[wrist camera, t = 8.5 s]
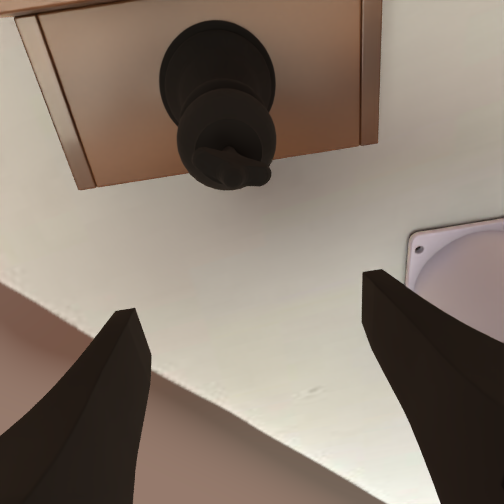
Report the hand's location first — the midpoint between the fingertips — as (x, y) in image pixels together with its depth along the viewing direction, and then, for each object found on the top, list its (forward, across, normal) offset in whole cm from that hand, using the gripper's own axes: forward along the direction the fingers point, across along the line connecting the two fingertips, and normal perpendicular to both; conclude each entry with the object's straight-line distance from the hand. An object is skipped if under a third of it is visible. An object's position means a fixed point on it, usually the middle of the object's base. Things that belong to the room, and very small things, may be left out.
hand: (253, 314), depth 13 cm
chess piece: (+7, 0, -6) cm, 9 cm away
